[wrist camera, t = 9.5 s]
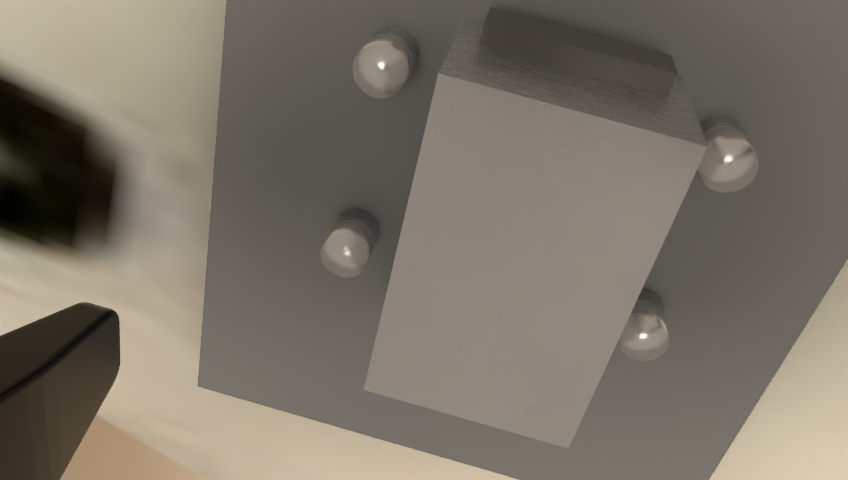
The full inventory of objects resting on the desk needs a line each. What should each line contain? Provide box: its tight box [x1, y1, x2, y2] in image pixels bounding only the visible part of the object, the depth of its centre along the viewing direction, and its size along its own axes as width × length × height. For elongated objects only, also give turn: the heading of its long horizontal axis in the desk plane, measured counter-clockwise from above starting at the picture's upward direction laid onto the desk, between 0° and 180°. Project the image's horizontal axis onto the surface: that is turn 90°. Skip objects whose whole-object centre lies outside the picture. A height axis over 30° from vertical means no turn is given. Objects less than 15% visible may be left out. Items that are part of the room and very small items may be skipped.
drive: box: [364, 7, 708, 448], centre depth 17 cm, size 5×8×4 cm, turn 167°
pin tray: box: [198, 0, 848, 480], centre depth 19 cm, size 16×20×2 cm
